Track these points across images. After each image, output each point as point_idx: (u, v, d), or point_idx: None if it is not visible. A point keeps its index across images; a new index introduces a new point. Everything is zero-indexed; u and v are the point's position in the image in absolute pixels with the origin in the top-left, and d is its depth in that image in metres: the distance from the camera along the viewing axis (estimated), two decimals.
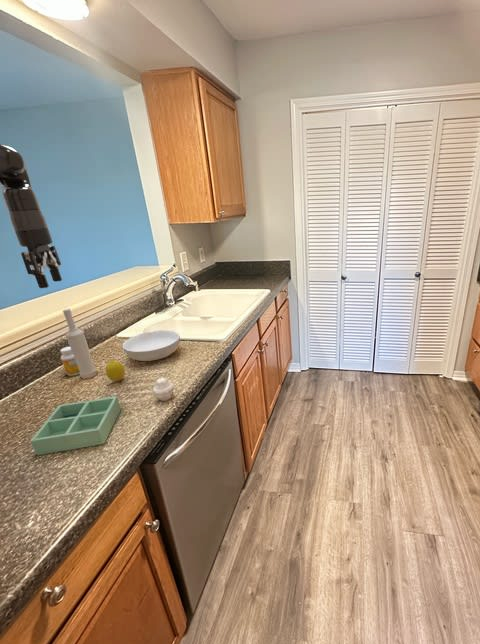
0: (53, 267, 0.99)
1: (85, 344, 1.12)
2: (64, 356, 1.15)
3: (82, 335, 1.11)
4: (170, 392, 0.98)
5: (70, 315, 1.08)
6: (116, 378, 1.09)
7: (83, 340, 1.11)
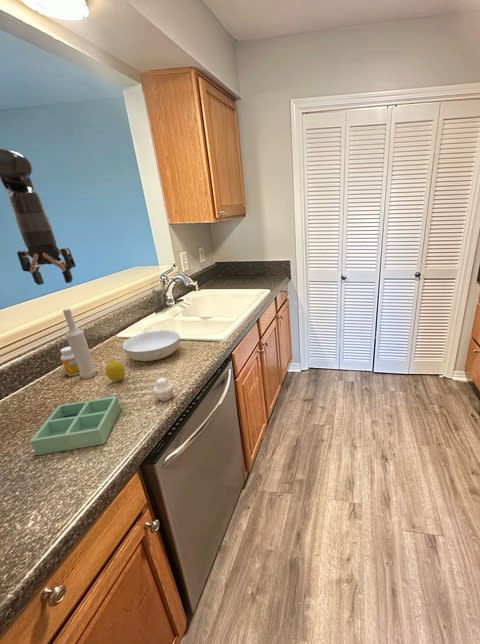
0: (36, 270, 1.00)
1: (85, 344, 1.12)
2: (64, 356, 1.15)
3: (82, 335, 1.11)
4: (170, 392, 0.98)
5: (70, 315, 1.08)
6: (116, 378, 1.09)
7: (83, 340, 1.11)
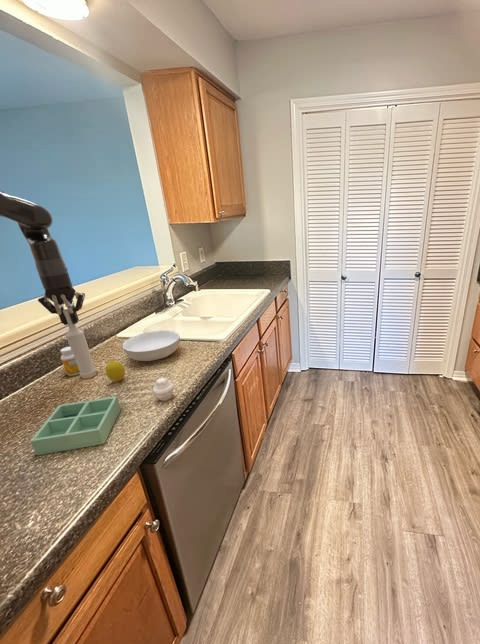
0: None
1: (85, 344, 1.12)
2: (64, 356, 1.15)
3: (82, 335, 1.11)
4: (170, 392, 0.98)
5: None
6: (116, 378, 1.09)
7: (83, 340, 1.11)
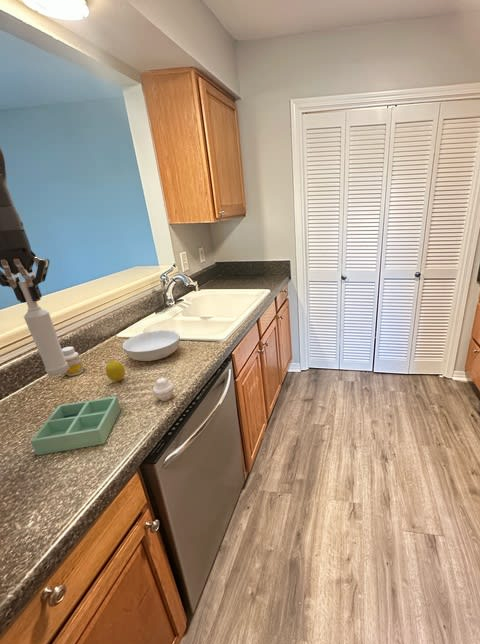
0: None
1: (51, 329, 0.83)
2: (64, 356, 1.15)
3: (47, 317, 0.82)
4: (170, 392, 0.98)
5: None
6: (116, 378, 1.09)
7: (48, 323, 0.82)
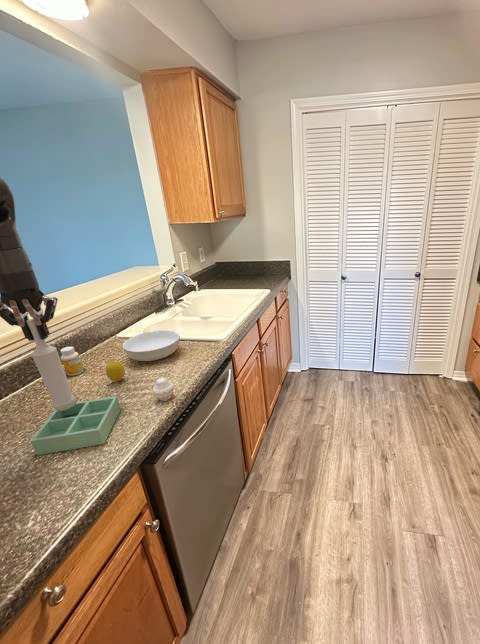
0: None
1: (59, 366, 0.83)
2: (64, 356, 1.15)
3: (54, 354, 0.82)
4: (170, 392, 0.98)
5: None
6: (116, 378, 1.09)
7: (55, 360, 0.82)
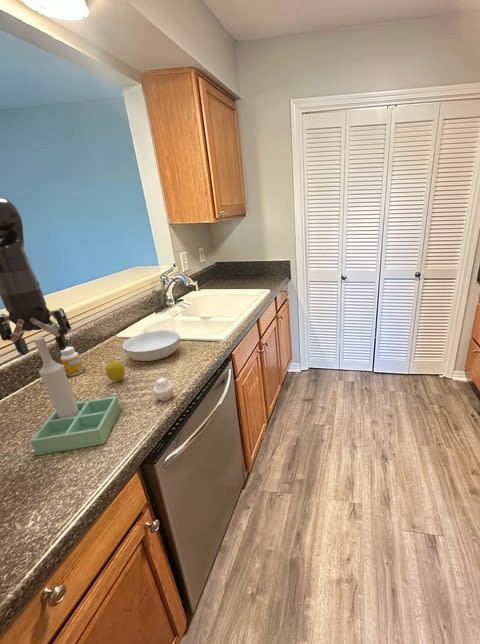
0: (20, 337, 0.79)
1: (65, 382, 0.85)
2: (64, 356, 1.15)
3: (61, 371, 0.84)
4: (170, 392, 0.98)
5: (44, 346, 0.81)
6: (116, 378, 1.09)
7: (62, 377, 0.84)
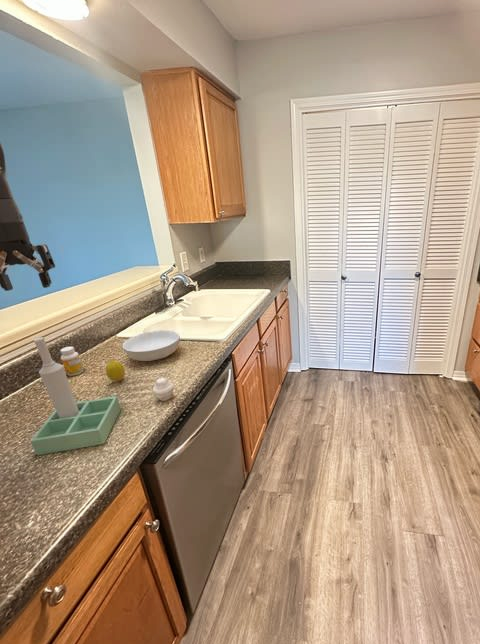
0: (3, 272, 0.79)
1: (65, 382, 0.85)
2: (64, 356, 1.15)
3: (61, 371, 0.84)
4: (170, 392, 0.98)
5: (44, 346, 0.81)
6: (116, 378, 1.09)
7: (62, 377, 0.84)
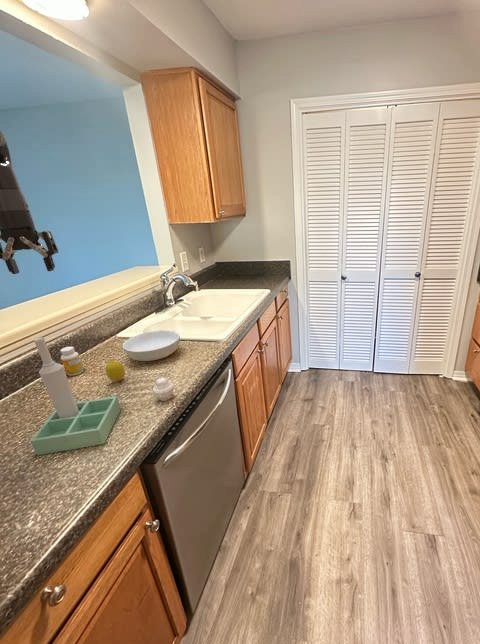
0: (10, 257, 0.87)
1: (65, 382, 0.85)
2: (64, 356, 1.15)
3: (61, 371, 0.84)
4: (170, 392, 0.98)
5: (44, 346, 0.81)
6: (116, 378, 1.09)
7: (62, 377, 0.84)
